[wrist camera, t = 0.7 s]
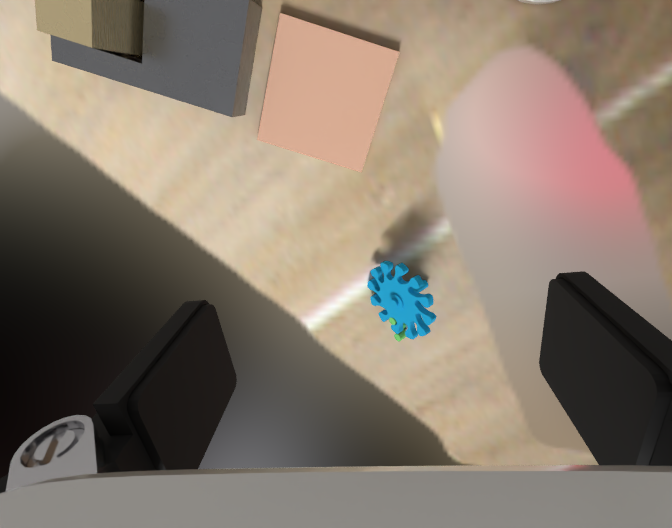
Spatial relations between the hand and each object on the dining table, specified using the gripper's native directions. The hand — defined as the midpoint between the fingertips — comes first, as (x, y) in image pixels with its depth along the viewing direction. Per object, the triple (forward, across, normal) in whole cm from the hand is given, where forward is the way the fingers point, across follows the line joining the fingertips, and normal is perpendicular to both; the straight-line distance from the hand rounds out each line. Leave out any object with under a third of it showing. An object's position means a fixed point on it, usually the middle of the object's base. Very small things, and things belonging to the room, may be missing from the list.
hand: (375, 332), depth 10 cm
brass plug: (+33, +22, -16) cm, 43 cm away
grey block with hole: (+33, +19, -14) cm, 41 cm away
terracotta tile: (+33, +4, -7) cm, 34 cm away
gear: (+33, -2, +17) cm, 37 cm away
